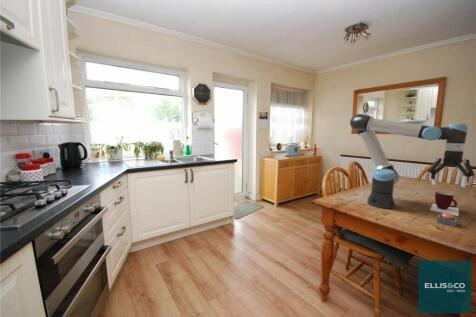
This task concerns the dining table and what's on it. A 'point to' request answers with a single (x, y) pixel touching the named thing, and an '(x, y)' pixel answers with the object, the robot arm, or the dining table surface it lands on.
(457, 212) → the paper
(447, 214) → the button
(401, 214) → the dining table surface
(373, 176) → the robot arm
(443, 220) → the button housing
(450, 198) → the mug
